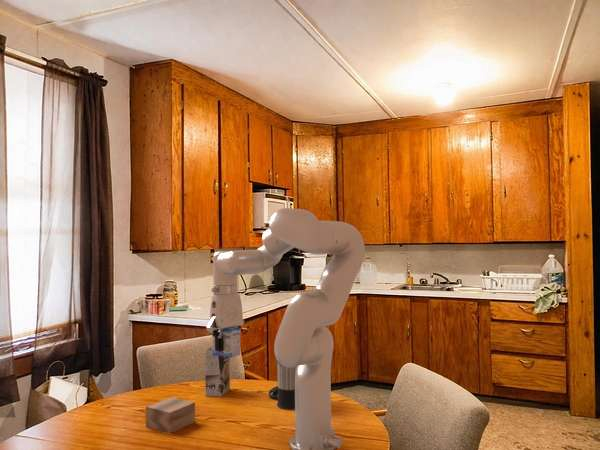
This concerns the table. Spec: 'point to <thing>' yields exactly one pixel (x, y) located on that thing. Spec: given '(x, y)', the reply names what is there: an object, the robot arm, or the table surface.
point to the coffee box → (216, 374)
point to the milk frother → (284, 387)
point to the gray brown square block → (170, 414)
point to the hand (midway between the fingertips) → (226, 348)
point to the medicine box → (228, 343)
